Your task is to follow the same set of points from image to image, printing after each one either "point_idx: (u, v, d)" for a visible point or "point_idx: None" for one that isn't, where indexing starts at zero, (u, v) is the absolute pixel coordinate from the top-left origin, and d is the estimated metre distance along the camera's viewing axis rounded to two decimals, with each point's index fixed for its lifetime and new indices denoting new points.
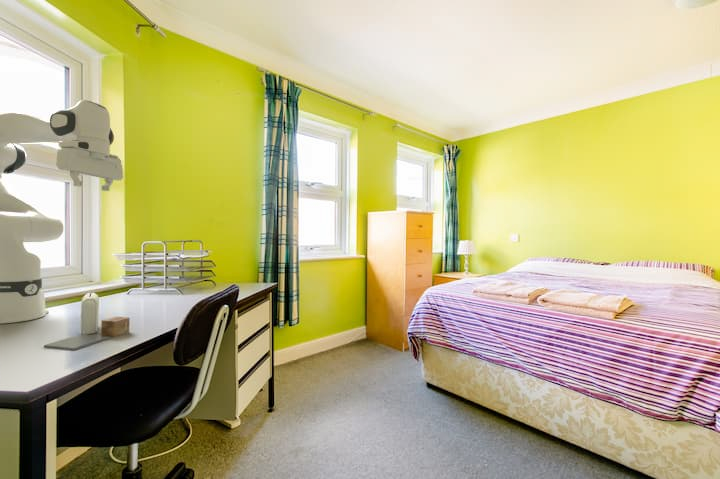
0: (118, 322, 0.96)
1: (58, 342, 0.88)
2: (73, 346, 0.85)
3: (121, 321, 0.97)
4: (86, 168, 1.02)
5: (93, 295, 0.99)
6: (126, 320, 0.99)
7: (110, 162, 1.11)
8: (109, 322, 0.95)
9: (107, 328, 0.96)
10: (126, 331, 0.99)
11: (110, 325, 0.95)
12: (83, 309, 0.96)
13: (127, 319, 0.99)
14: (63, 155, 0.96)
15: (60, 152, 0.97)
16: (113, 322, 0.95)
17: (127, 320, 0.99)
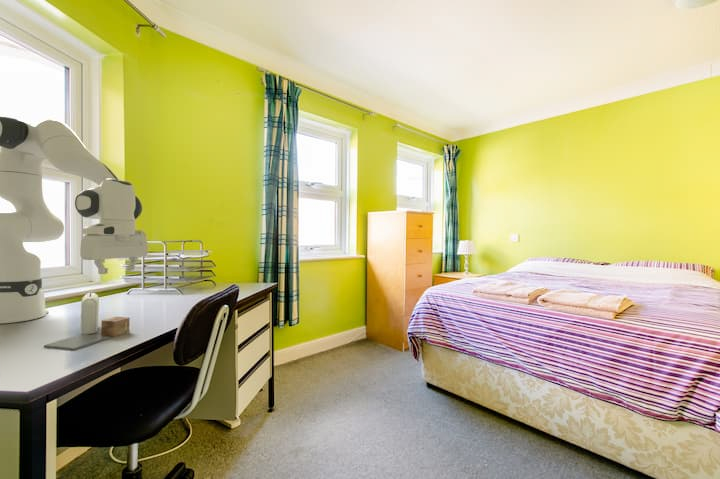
0: (118, 322, 0.96)
1: (58, 342, 0.88)
2: (73, 346, 0.85)
3: (121, 321, 0.97)
4: (112, 252, 0.94)
5: (93, 295, 0.99)
6: (126, 320, 0.99)
7: (135, 240, 1.02)
8: (109, 322, 0.95)
9: (107, 328, 0.96)
10: (126, 331, 0.99)
11: (110, 325, 0.95)
12: (83, 309, 0.96)
13: (127, 319, 0.99)
14: (88, 244, 0.88)
15: (85, 241, 0.88)
16: (113, 322, 0.95)
17: (127, 320, 0.99)
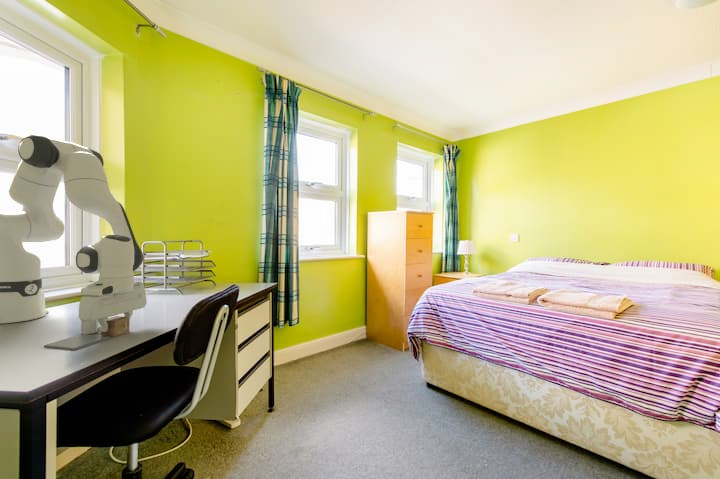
0: (118, 322, 0.96)
1: (58, 342, 0.88)
2: (73, 346, 0.85)
3: (121, 321, 0.97)
4: (110, 311, 0.94)
5: None
6: (126, 320, 0.99)
7: (134, 294, 1.02)
8: (109, 322, 0.95)
9: None
10: (126, 331, 0.99)
11: None
12: None
13: (127, 319, 0.99)
14: (86, 306, 0.88)
15: (83, 302, 0.89)
16: (113, 322, 0.95)
17: (127, 320, 0.99)
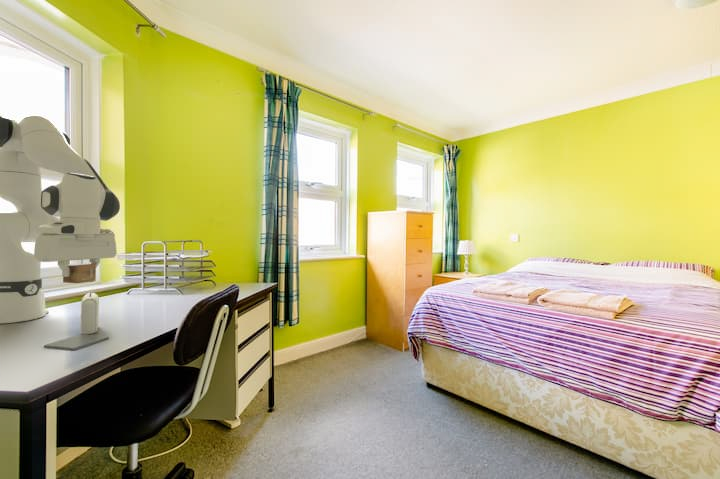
0: (82, 267, 0.88)
1: (58, 342, 0.88)
2: (73, 346, 0.85)
3: (85, 267, 0.89)
4: (72, 254, 0.86)
5: (93, 295, 0.99)
6: (92, 266, 0.90)
7: (101, 240, 0.94)
8: (71, 267, 0.87)
9: None
10: (92, 279, 0.91)
11: None
12: (83, 309, 0.96)
13: (93, 266, 0.91)
14: (43, 245, 0.80)
15: (40, 241, 0.80)
16: (76, 266, 0.87)
17: (93, 267, 0.91)
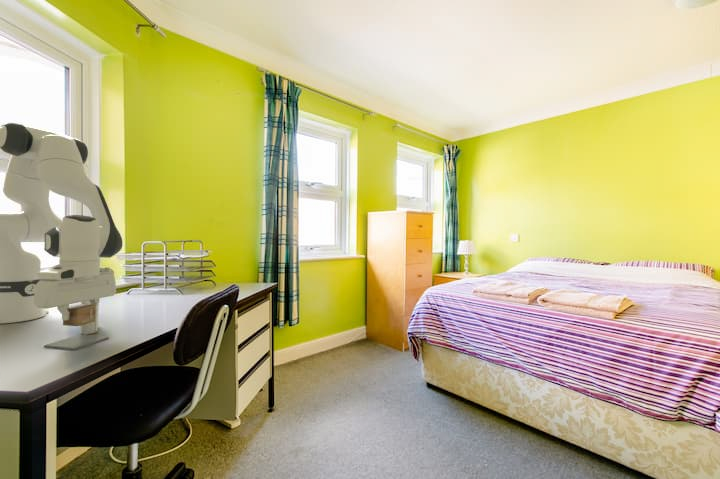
0: (81, 310, 0.88)
1: (58, 342, 0.88)
2: (73, 346, 0.85)
3: (85, 309, 0.89)
4: (72, 297, 0.86)
5: None
6: (91, 308, 0.91)
7: (101, 280, 0.94)
8: (71, 309, 0.87)
9: None
10: (91, 320, 0.91)
11: None
12: None
13: (93, 307, 0.91)
14: (42, 291, 0.80)
15: (39, 287, 0.80)
16: (76, 309, 0.87)
17: (93, 308, 0.91)
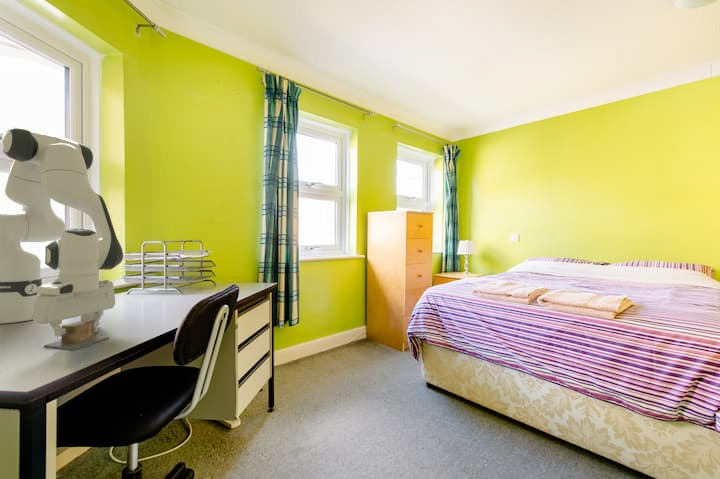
0: (80, 327, 0.88)
1: (58, 342, 0.88)
2: (73, 346, 0.85)
3: (84, 326, 0.89)
4: (71, 312, 0.86)
5: None
6: (90, 325, 0.91)
7: (100, 293, 0.94)
8: (70, 327, 0.87)
9: (68, 334, 0.87)
10: (90, 337, 0.91)
11: (71, 331, 0.87)
12: None
13: (91, 324, 0.91)
14: (41, 307, 0.80)
15: (38, 303, 0.80)
16: (74, 327, 0.87)
17: (91, 325, 0.91)
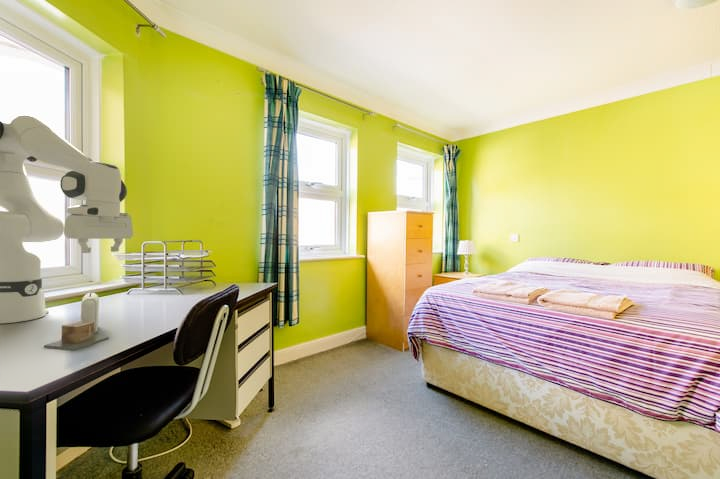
0: (80, 327, 0.88)
1: (58, 342, 0.88)
2: (73, 346, 0.85)
3: (84, 326, 0.89)
4: (95, 233, 0.98)
5: (93, 295, 0.99)
6: (90, 325, 0.91)
7: (120, 222, 1.06)
8: (70, 327, 0.87)
9: (68, 334, 0.87)
10: (90, 337, 0.91)
11: (71, 331, 0.87)
12: (83, 309, 0.96)
13: (91, 324, 0.91)
14: (71, 223, 0.92)
15: (69, 220, 0.92)
16: (74, 327, 0.87)
17: (91, 325, 0.91)
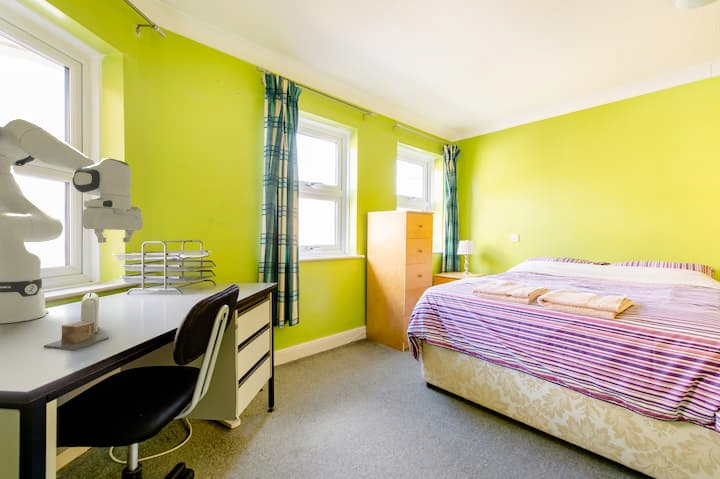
0: (80, 327, 0.88)
1: (58, 342, 0.88)
2: (73, 346, 0.85)
3: (84, 326, 0.89)
4: (110, 224, 1.06)
5: (93, 295, 0.99)
6: (90, 325, 0.91)
7: (131, 215, 1.14)
8: (70, 327, 0.87)
9: (68, 334, 0.87)
10: (90, 337, 0.91)
11: (71, 331, 0.87)
12: (83, 309, 0.96)
13: (91, 324, 0.91)
14: (89, 215, 1.00)
15: (86, 212, 1.00)
16: (74, 327, 0.87)
17: (91, 325, 0.91)
